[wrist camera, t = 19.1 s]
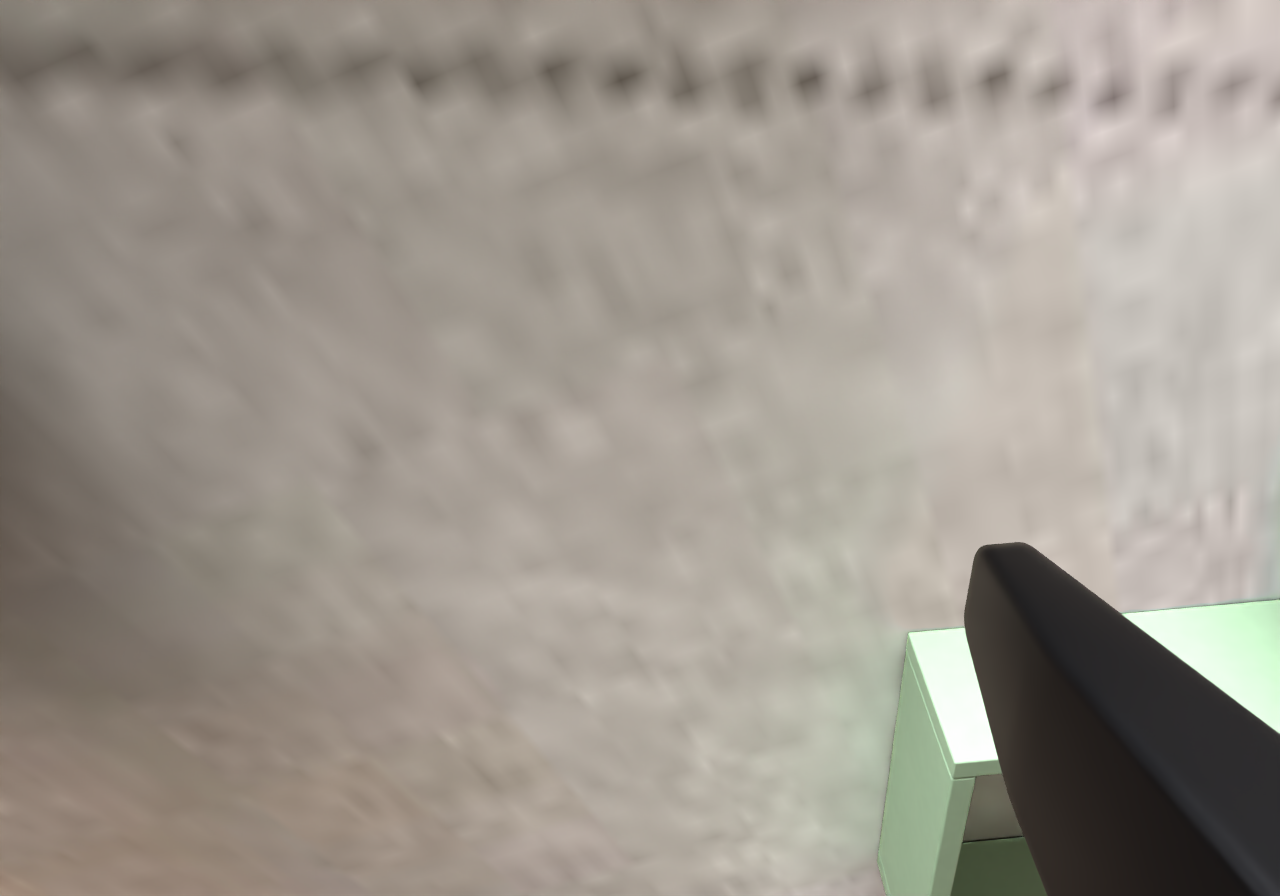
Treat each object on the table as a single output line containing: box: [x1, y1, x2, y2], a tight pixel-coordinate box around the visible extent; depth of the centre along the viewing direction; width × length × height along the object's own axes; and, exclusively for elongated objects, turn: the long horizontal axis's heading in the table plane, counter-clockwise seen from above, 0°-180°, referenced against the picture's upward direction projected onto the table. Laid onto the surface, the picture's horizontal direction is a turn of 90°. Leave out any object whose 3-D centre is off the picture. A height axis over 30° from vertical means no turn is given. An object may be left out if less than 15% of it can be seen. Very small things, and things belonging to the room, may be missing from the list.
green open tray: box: [877, 600, 1280, 896], centre depth 29 cm, size 11×10×4 cm
